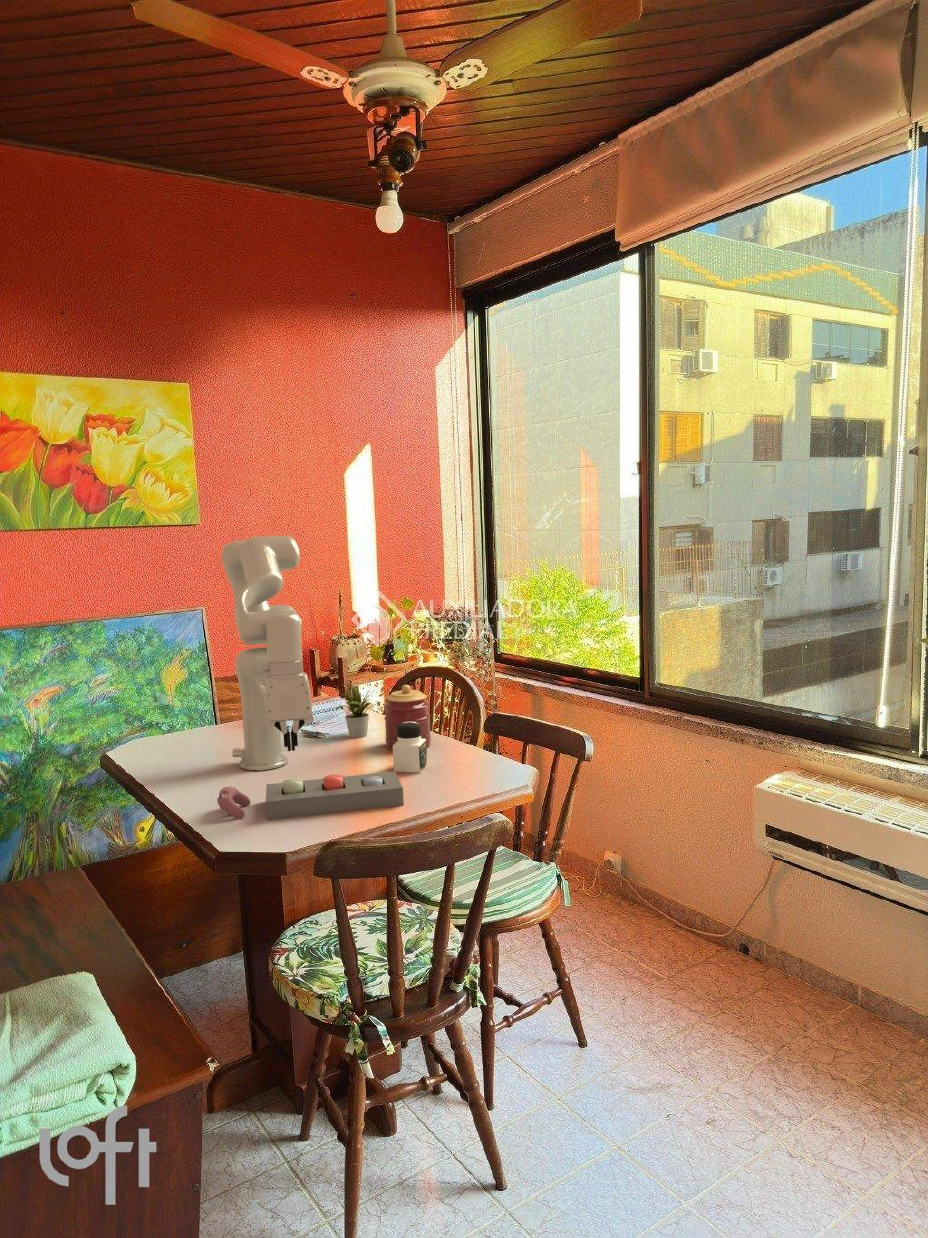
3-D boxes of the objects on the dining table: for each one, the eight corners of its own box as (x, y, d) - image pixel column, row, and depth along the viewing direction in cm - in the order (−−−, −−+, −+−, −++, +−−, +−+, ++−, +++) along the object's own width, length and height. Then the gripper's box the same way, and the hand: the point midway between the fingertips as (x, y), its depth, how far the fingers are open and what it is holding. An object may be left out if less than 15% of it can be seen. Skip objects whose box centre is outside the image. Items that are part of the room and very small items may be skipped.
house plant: (321, 736, 256) (318, 683, 255) (359, 727, 266) (356, 676, 264) (349, 744, 246) (346, 688, 244) (387, 734, 255) (384, 681, 253)
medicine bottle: (420, 773, 215) (418, 726, 213) (393, 772, 216) (391, 726, 215) (427, 765, 222) (425, 720, 220) (401, 764, 223) (399, 719, 222)
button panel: (267, 819, 185) (265, 801, 184) (267, 801, 197) (266, 784, 197) (403, 804, 191) (402, 787, 190) (395, 787, 203) (395, 771, 203)
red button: (324, 795, 191) (323, 781, 191) (323, 789, 195) (322, 775, 195) (344, 793, 192) (343, 779, 192) (342, 787, 196) (342, 773, 196)
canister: (418, 737, 251) (415, 678, 249) (439, 746, 240) (437, 685, 238) (378, 744, 244) (375, 684, 242) (398, 754, 233) (395, 691, 231)
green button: (283, 799, 189) (283, 785, 189) (283, 793, 193) (282, 779, 193) (303, 797, 190) (303, 783, 190) (303, 791, 194) (302, 777, 194)
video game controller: (235, 812, 195) (219, 786, 194) (252, 802, 195) (236, 776, 194) (227, 827, 185) (210, 800, 184) (246, 816, 186) (229, 790, 185)
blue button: (364, 796, 193) (364, 782, 193) (363, 790, 197) (362, 777, 197) (384, 794, 194) (383, 780, 194) (381, 788, 198) (381, 775, 198)
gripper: (250, 673, 183) (256, 757, 185) (320, 668, 186) (325, 750, 188) (251, 669, 190) (257, 749, 192) (319, 663, 194) (324, 742, 195)
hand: (291, 749), depth 190 cm, fingers closed
